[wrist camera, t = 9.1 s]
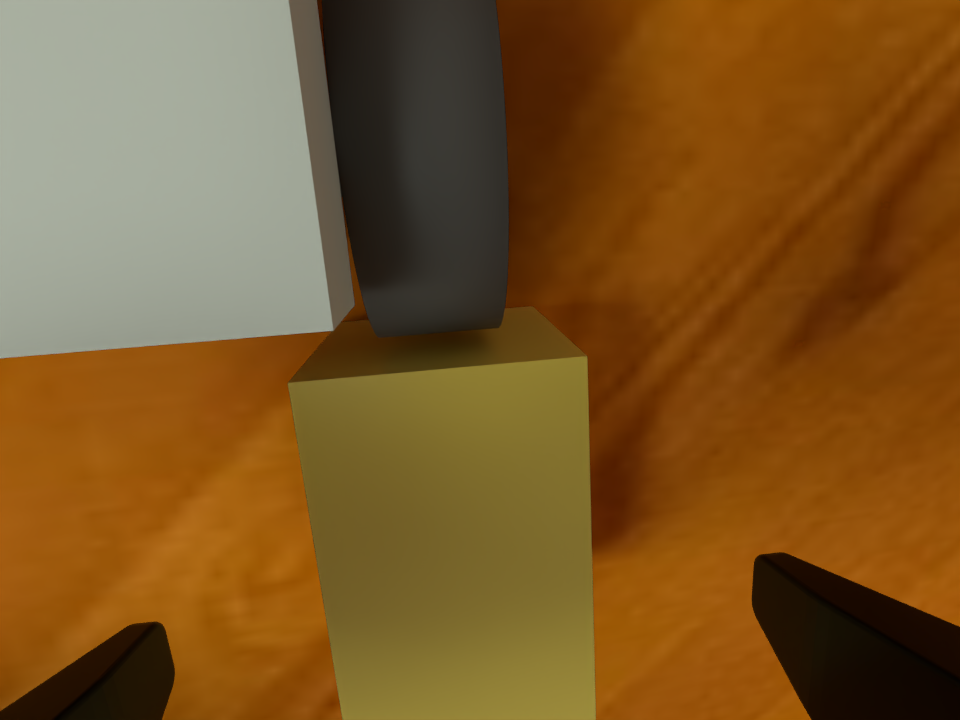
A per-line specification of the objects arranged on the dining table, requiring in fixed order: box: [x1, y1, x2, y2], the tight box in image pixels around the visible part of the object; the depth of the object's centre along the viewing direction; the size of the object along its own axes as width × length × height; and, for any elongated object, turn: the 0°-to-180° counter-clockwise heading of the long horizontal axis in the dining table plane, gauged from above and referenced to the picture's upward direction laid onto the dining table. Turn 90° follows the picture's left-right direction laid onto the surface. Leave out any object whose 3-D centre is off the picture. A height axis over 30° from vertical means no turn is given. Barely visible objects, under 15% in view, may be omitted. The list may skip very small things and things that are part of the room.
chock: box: [288, 306, 596, 720], centre depth 12 cm, size 7×4×5 cm, turn 4°
